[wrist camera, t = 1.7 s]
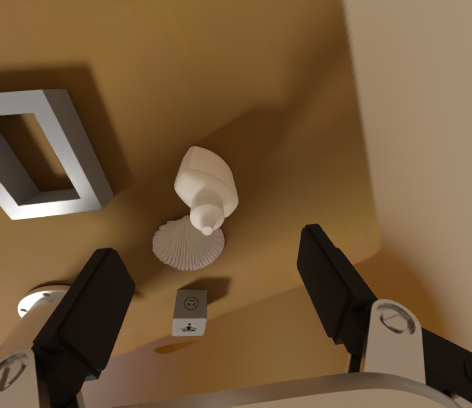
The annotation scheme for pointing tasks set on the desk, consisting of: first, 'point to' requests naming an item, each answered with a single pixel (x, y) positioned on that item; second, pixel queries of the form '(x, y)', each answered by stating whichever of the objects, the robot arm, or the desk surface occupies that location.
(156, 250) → the seashell
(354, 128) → the desk surface
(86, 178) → the bottle holder
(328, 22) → the desk surface
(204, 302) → the dice cube
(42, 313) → the robot arm
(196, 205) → the eye dropper bottle
